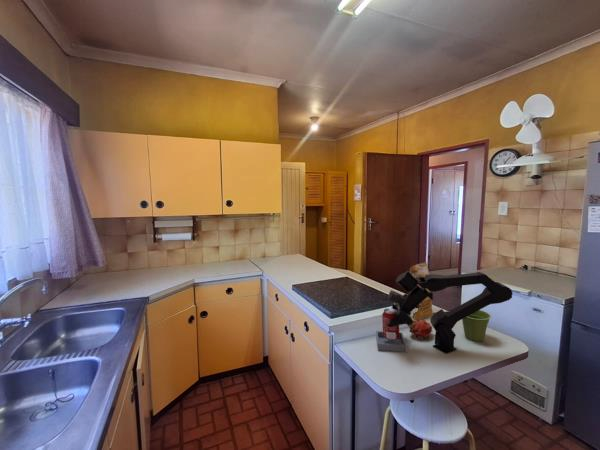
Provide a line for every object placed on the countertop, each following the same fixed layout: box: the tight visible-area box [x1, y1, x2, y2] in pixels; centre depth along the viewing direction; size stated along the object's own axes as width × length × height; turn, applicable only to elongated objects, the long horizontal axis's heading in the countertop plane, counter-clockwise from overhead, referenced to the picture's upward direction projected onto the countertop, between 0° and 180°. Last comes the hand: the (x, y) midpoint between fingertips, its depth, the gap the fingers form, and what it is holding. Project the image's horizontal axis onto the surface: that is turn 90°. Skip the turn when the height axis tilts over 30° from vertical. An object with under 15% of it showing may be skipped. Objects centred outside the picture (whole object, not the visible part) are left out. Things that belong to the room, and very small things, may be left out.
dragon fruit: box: [409, 319, 433, 340], centre depth 125 cm, size 8×8×12 cm
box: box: [375, 330, 407, 354], centre depth 118 cm, size 11×11×3 cm
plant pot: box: [462, 309, 492, 343], centre depth 121 cm, size 12×12×11 cm
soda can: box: [381, 307, 400, 341], centre depth 118 cm, size 7×7×12 cm
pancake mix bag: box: [408, 261, 434, 321], centre depth 146 cm, size 7×19×28 cm, turn 123°
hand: (387, 322), depth 118 cm, fingers closed on soda can, 6 cm apart
